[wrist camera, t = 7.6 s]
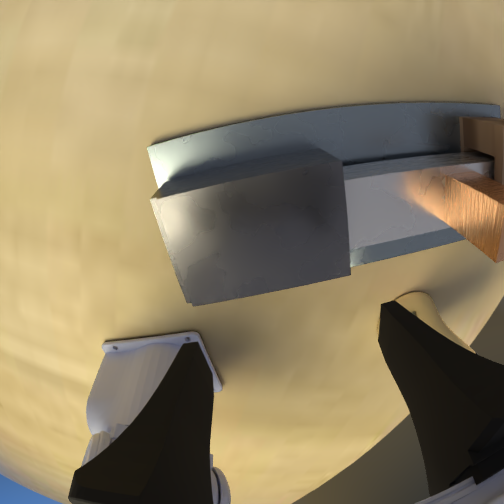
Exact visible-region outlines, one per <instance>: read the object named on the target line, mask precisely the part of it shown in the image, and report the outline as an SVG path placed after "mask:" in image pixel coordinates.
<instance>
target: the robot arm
mask: <svg viewBox="0 0 504 504" xmlns="http://www.w3.org/2000/svg"><path fill="white" fill-rule="evenodd" d="M186 337H189V339H188V338H186ZM378 342H379V345H380V348H381V350H382V353H383V356H384V359H385V361H386V363H387V365H388V367H389V369H390V371H391V373H392V375H393V377H394V379H395V381H396V383H397V385H398V387H399V389H400V391H401V393H402V395H403V397H404V399H405V402H406V404H407V406H408V408H409V411H410V414H411V417H412V420H413V423H414V426H415V429H416V432H417V436H418V439H419V443H420V446H421V451H422V455H423V459H424V463H425V469H426V474H427V480H428V487H429V494H430V497H429V498H427V499H425V500H423V501H420V502H417V503H415V504H504V365H502V364H499V363H496V362H493V361H491V360H488V359H486V358H484V357H481V356H479V355H477V354H475V353H473V352H471V351H469V350H467V349H465V348H463V347H462V346H460V345H458V344H456V343H455V342H453V341H451V340H450V339H448V338H447V337H445V336H443V335H442V334H440V333H439V332H437V331H436V330H434V329H433V328H432V327H430V326H429V325H427V324H426V323H425V322H423V321H422V320H420V319H419V318H418V317H416V316H415V315H414V314H412V313H411V312H410V311H408V310H407V309H406V308H404V307H403V306H402V305H401V304H399V303H398V302H396V301H395V300H394V301H391V302H387V303H383V304H381V312H380V325H379V336H378ZM102 349H103V351H104V352H105V356H104V358H103V361H102V363H101V366H100V368H99V371H98V373H97V376H96V379H95V381H94V384H93V387H92V389H91V392H90V395H89V398H88V401H87V407H86V416H87V423H88V427H89V430H90V432H91V434H92V437H91V439H90V442H89V444H88V447H87V450H86V453H85V456H84V459H83V462H82V466H81V467H80V468H79V469H77V470H76V471H75V472H74V476H73V480H72V484H71V488H70V492H69V496H68V499H69V501H70V502H71V503H72V504H230V502H231V495H230V488H229V485H228V482H227V480H226V477H225V475H224V474H223V472H222V471H221V470H220V469H218V468H217V467H213V455H212V454H210V437H211V425H212V413H213V401H214V392H219V391H221V390H222V384H221V382H220V380H219V378H218V376H217V373H216V371H215V369H214V367H213V365H212V362H211V360H210V358H209V356H208V353H207V351H206V349H205V346H204V344H203V342H202V339H201V337H200V335H199V333H197V332H195V331H191V332H185V333H178V334H171V335H163V336H156V337H148V338H139V339H131V340H122V341H113V342H104V343H103V344H102Z"/></svg>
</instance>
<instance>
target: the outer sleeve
mask: <svg viewBox="0 0 504 504" xmlns="http://www.w3.org/2000/svg"><path fill="white" fill-rule="evenodd" d="M459 117H495V118H500V106H499V105H493V104H479V103H459V102H402V103H381V104H366V105H354V106H343V107H334V108H325V109H317V110H310V111H302V112H296V113H289V114H283V115H277V116H271V117H266V118H260V119H255V120H250V121H245V122H240V123H235V124H231V125H226V126H222V127H217V128H213V129H209V130H205V131H201V132H197V133H193V134H189V135H185V136H182V137H178V138H174V139H171V140H167V141H164V142H160V143H157V144H154V145H151V146H149V147H147V150H148V153H149V157H150V160H151V164H152V167H153V171H154V174H155V178H156V181H157V184H158V188H159V189H158V190H157V192H156V193H155V194H154V195H153V196H152V197H151V199H150V201H151V204H152V207H153V210H154V213H155V217H156V220H157V223H158V225H159V228H160V231H161V234H162V237H163V240H164V243H165V246H166V249H167V251H168V254H169V257H170V260H171V262H172V265H173V268H174V271H175V273H176V276H177V279H178V281H179V284H180V286H181V289H182V292H183V294H184V297H185V299H186V302H187V303H192V306H199V305H205V304H210V303H216V302H221V301H227V300H232V299H238V298H243V297H248V296H253V295H259V294H264V293H269V292H274V291H279V290H284V289H289V288H293V287H298V286H303V285H308V284H312V283H317V282H322V281H326V280H331V279H335V278H340V277H344V276H349V275H351V267H353V266H358V265H362V264H367V263H371V262H375V261H380V260H384V259H388V258H392V257H397V256H401V255H405V254H409V253H413V252H417V251H421V250H425V249H429V248H433V247H437V246H441V245H445V244H449V243H453V242H457V241H460V240H464V239H466V238H465V237H463V236H462V235H461V234H460V233H458V232H457V231H456V230H454V229H453V228H452V227H450V228H446V229H441V230H437V231H433V232H428V233H424V234H419V235H415V236H410V237H406V238H401V239H397V240H392V241H388V242H383V243H379V244H374V245H369V246H365V247H360V248H356V249H351V250H350V246H349V230H348V216H347V204H346V194H345V184H344V174H343V166H349V165H356V164H363V163H370V162H377V161H385V160H393V159H401V158H410V157H419V156H428V155H438V154H449V153H461V143H460V123H459Z"/></svg>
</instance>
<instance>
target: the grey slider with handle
mask: <svg viewBox="0 0 504 504" xmlns="http://www.w3.org/2000/svg"><path fill="white" fill-rule="evenodd" d="M494 167H495V157H494V156H491V155H489V154H486V153H483V152H480V151H475V152H461V153H449V154H438V155H428V156H419V157H410V158H401V159H393V160H385V161H377V162H370V163H363V164H356V165H349V166H343V174H344V184H345V194H346V204H347V216H348V230H349V246H350V250H351V249H356V248H360V247H365V246H369V245H374V244H379V243H383V242H388V241H392V240H397V239H401V238H406V237H410V236H415V235H419V234H424V233H428V232H433V231H437V230H441V229H446V228H450V227H452V228H453V229H454V230H456V231H457V232H458V233H460V234H461V235H462V236H463V237H465V238H466V239H467V240H469V241H470V242H471V243H472V244H474V245H475V246H476V247H477V248H479V249H480V250H481V251H482V252H483V253H485V254H486V255H487V256H488V257H489V258H491V259H492V260H493V261H494V262H495V263H497V262H500V261H503V260H504V185H503V184H501V183H499V182H497V181H495V180H494Z"/></svg>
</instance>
